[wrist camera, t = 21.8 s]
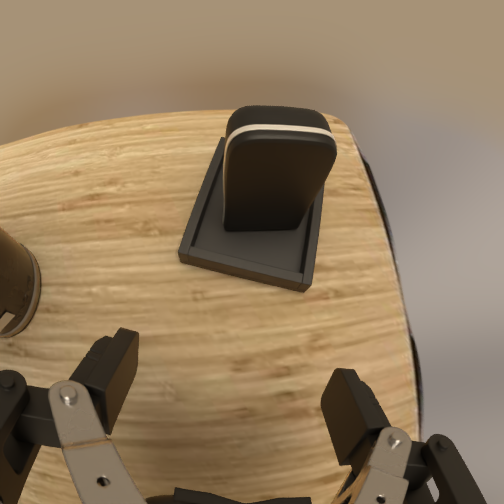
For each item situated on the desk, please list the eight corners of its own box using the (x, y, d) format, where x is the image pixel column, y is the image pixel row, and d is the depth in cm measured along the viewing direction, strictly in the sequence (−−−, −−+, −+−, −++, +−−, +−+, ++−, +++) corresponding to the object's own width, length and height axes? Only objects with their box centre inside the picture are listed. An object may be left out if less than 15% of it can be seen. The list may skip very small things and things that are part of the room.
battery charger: (294, 194, 28) (332, 102, 17) (300, 230, 26) (349, 143, 16) (219, 195, 27) (224, 94, 16) (221, 233, 25) (226, 137, 15)
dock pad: (180, 262, 24) (177, 252, 22) (220, 151, 29) (221, 136, 27) (303, 292, 25) (311, 285, 23) (320, 176, 30) (326, 163, 28)
